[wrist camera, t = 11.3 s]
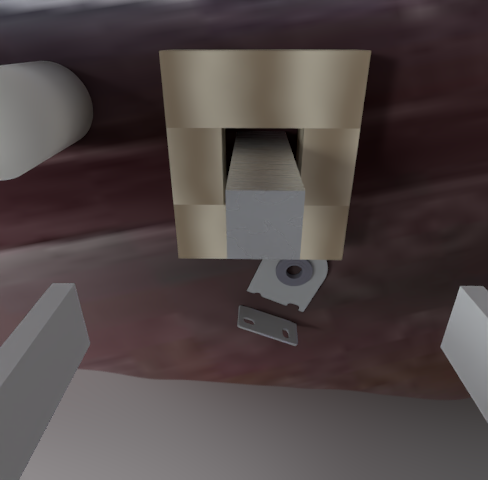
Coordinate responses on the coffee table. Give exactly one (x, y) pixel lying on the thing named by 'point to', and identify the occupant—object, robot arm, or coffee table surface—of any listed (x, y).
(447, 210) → the coffee table surface
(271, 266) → the bracket
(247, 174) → the grey long block
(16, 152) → the plastic dowel
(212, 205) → the socket block
